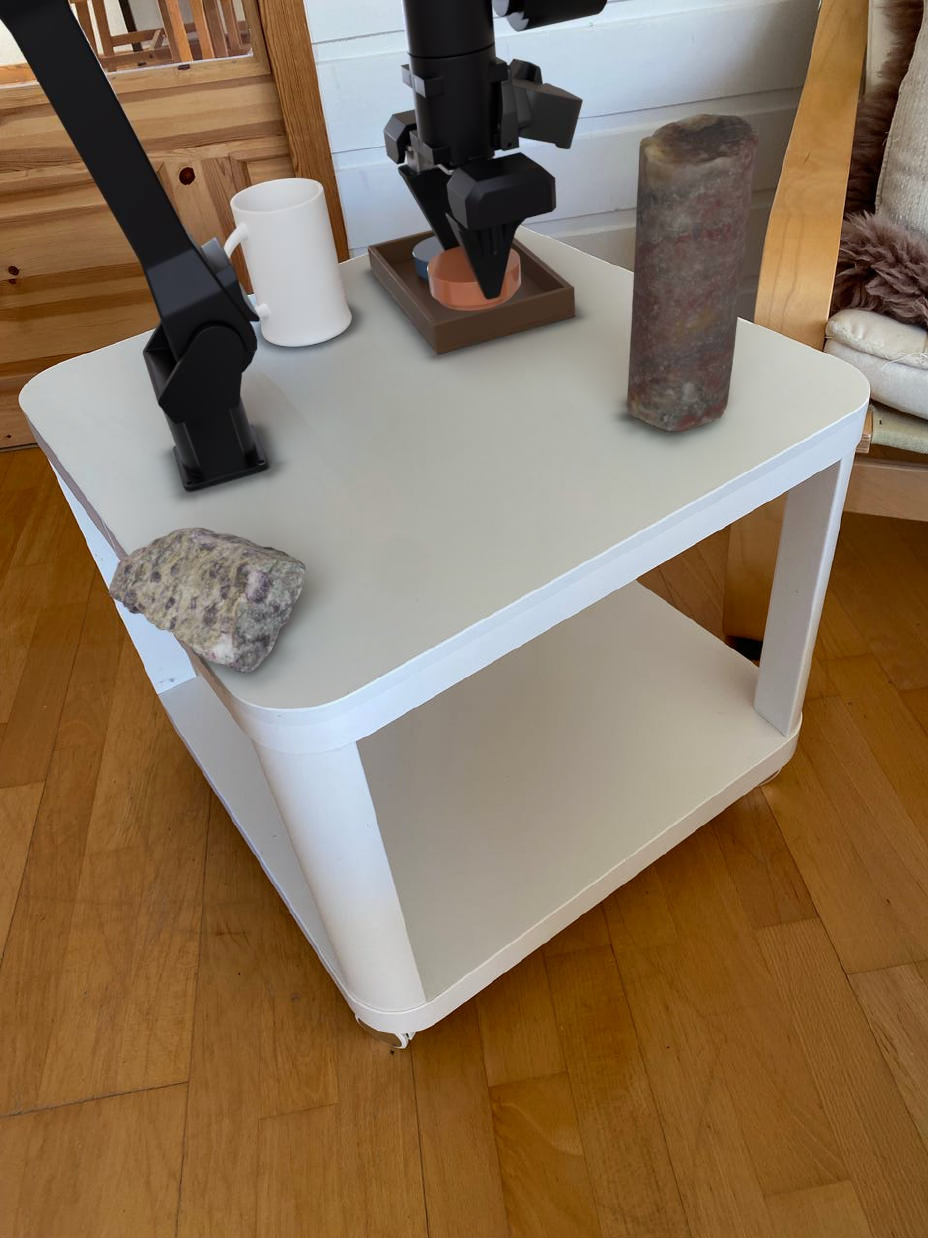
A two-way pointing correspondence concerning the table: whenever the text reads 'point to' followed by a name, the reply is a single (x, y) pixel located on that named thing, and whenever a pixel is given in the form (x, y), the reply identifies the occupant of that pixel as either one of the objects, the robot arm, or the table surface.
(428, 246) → the blue puck
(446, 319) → the tray
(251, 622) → the rock
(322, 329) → the mug
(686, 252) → the brown stone pillar
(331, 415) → the table surface
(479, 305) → the puck terracotta
